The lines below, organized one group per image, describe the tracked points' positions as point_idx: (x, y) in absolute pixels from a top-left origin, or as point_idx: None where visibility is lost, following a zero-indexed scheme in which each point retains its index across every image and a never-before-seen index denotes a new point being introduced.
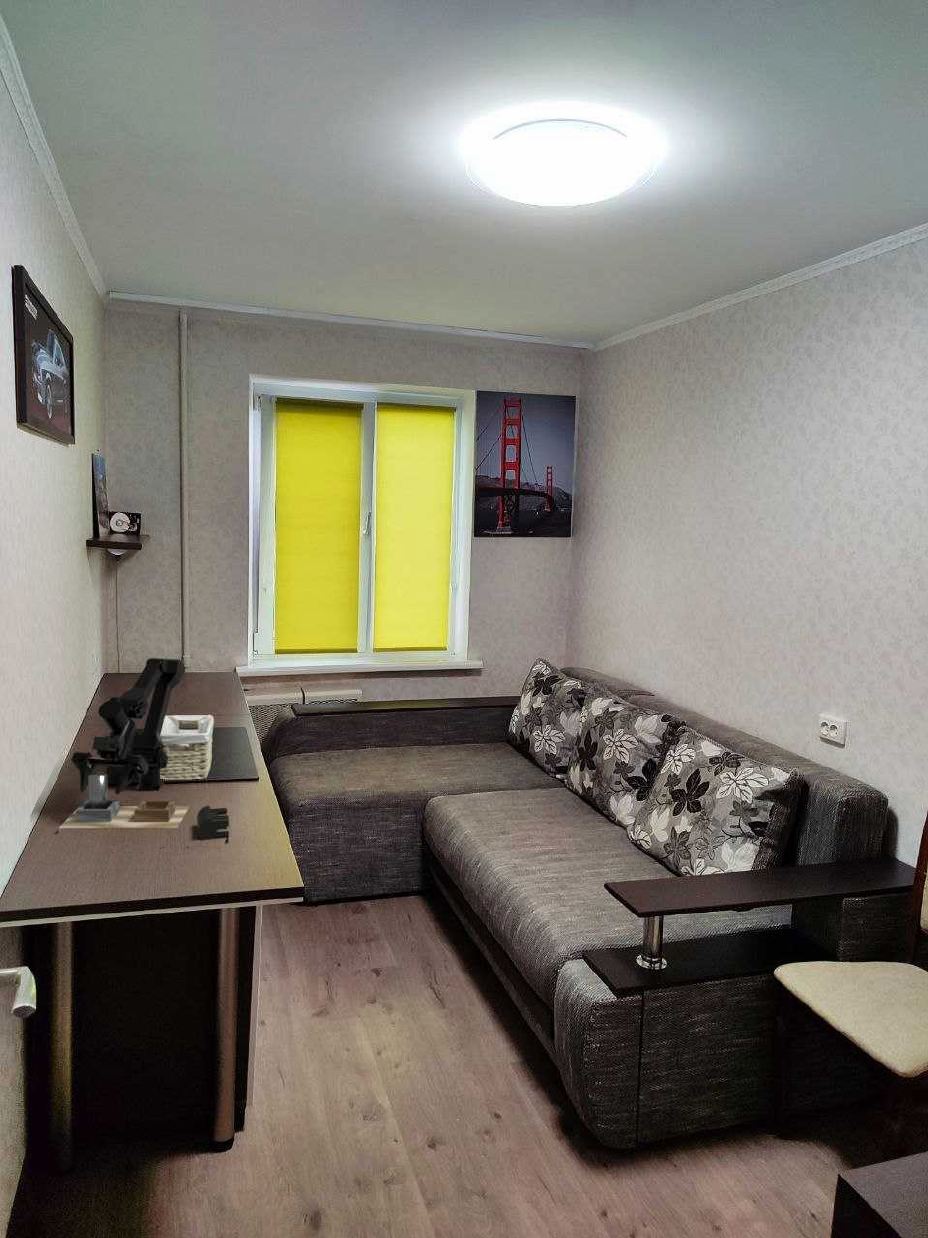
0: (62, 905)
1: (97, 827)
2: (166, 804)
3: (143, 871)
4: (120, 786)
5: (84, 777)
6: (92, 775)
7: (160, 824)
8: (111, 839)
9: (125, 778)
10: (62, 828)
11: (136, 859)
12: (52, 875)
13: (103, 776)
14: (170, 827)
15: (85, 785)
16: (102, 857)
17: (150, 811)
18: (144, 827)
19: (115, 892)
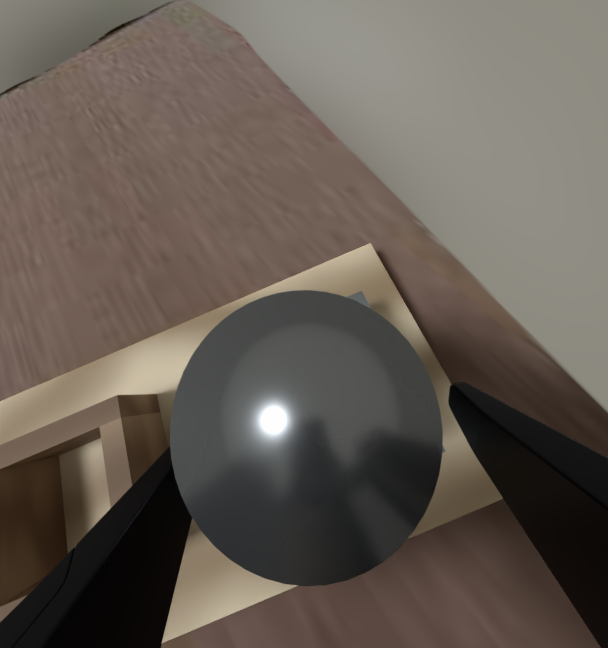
0: (116, 34)
1: (250, 297)
2: (33, 587)
3: (36, 170)
4: (138, 482)
5: (564, 476)
6: (335, 339)
7: (60, 409)
8: (191, 284)
9: (43, 594)
10: (358, 249)
11: (72, 208)
12: (199, 87)
13: (184, 379)
14: (18, 394)
15: (488, 454)
16: (151, 186)
17: (54, 423)
18: (101, 359)
19: (54, 92)
